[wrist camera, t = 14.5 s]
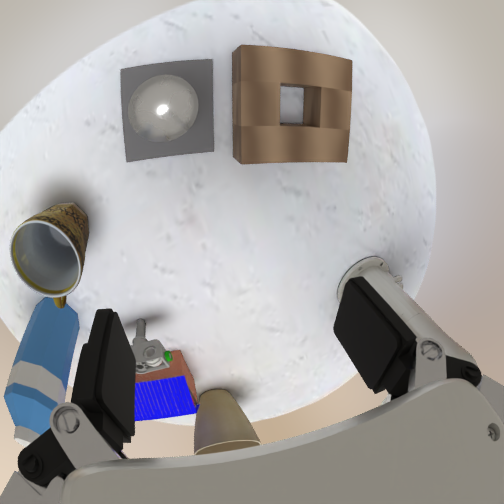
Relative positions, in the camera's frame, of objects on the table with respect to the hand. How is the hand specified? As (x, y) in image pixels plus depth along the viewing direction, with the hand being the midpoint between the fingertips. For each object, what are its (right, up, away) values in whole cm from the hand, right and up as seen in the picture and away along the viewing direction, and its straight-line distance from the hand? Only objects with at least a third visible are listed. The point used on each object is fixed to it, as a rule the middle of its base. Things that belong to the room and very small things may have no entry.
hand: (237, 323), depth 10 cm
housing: (+5, +22, +21) cm, 31 cm away
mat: (-10, +20, +18) cm, 28 cm away
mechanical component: (-18, -9, +32) cm, 38 cm away
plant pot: (-9, -33, +50) cm, 60 cm away
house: (-22, -23, +40) cm, 51 cm away
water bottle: (-34, -9, +27) cm, 44 cm away
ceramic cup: (-25, +5, +22) cm, 34 cm away
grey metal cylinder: (-9, +20, +17) cm, 28 cm away
